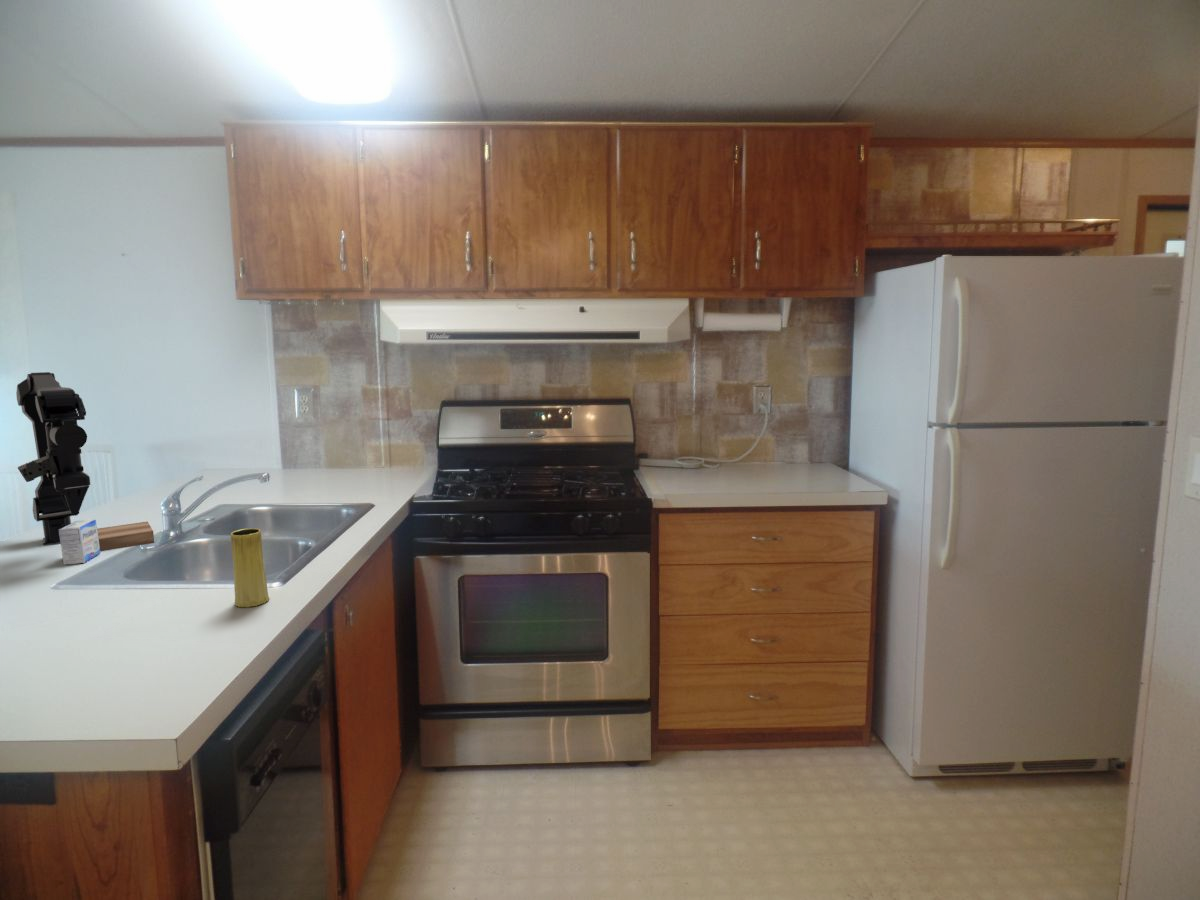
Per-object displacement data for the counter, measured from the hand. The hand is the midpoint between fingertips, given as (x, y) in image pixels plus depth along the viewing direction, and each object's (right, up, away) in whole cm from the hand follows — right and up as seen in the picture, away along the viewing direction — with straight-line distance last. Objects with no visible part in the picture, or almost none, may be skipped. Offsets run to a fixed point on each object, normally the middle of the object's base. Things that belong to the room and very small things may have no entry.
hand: (72, 511), depth 163 cm
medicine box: (0, -12, +3) cm, 12 cm away
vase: (+54, -16, -25) cm, 61 cm away
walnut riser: (+1, -9, +17) cm, 19 cm away
